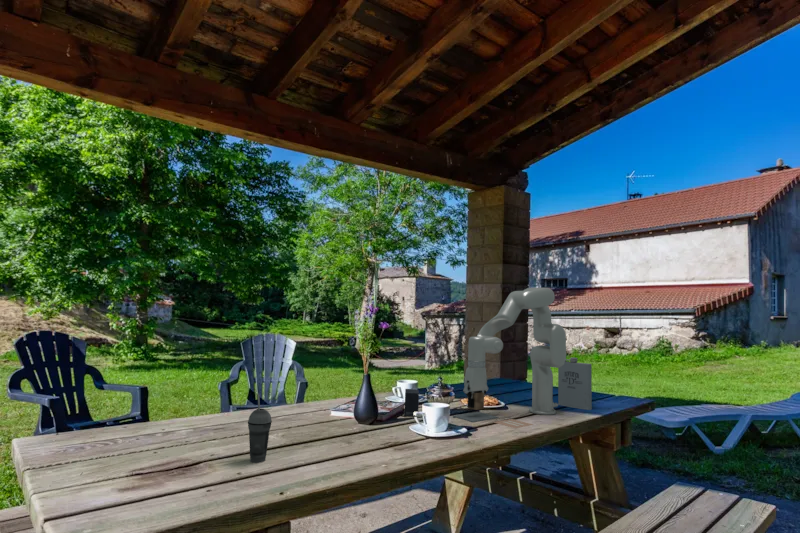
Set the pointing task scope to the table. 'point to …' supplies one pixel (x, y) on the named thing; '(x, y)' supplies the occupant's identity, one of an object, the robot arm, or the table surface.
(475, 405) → the walnut block
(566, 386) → the flask
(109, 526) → the table surface
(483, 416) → the slate board
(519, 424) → the tile
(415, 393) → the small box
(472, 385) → the robot arm
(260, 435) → the beverage cup
